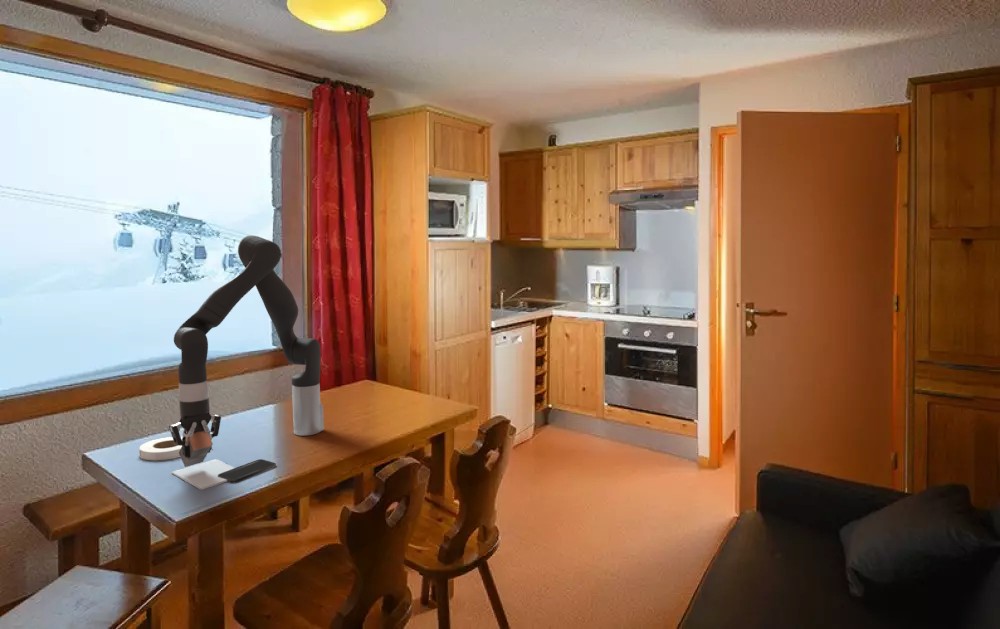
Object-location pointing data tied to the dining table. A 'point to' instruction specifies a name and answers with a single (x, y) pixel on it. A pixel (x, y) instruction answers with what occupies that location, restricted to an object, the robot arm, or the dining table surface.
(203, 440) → the block
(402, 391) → the dining table surface
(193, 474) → the mat
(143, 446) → the roll of tape
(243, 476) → the phone
